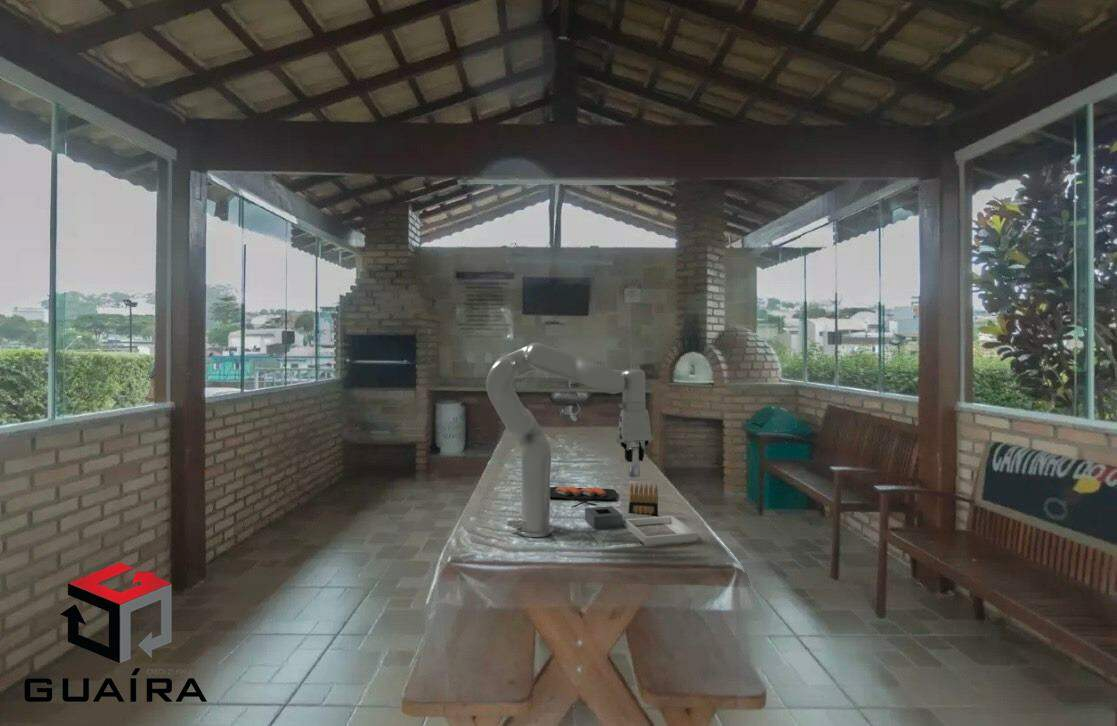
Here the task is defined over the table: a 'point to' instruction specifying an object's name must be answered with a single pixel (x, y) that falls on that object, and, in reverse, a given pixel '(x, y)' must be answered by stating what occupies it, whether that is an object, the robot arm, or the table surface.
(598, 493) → the sushi plate
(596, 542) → the table surface
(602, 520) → the pin block
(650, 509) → the ammunition clip
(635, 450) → the pin
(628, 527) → the tray
